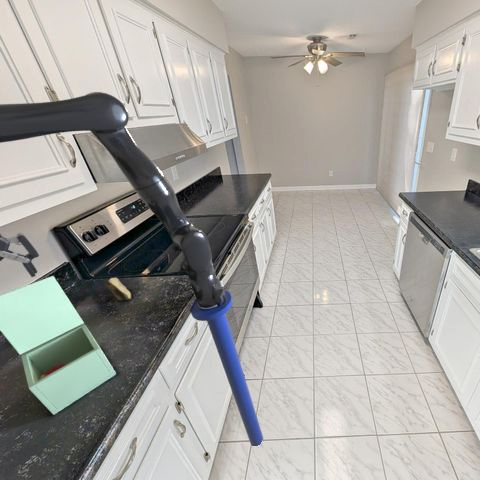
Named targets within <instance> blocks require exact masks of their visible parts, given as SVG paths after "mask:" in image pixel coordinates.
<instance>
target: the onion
mask: <svg viewBox="0 0 480 480" xmlns="http://www.w3.org/2000/svg"><path fill="white" fill-rule="evenodd" d="M65 365H67V364H60V365H57V366H55V367H53V368H51V369H49V370H48V371H47V372H46V373H45V374H44V375H43V376H41V378H40V380H41V379H42V378H44V377H46V376H48V375H50V374H51V373H53V372H55V371H57V370H58V369H60V368H62V367H64V366H65Z"/></svg>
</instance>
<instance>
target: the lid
mask: <svg viewBox="0 0 480 480" xmlns="http://www.w3.org/2000/svg"><path fill="white" fill-rule="evenodd" d="M83 324H85V322H84V321H83V319H82V318H81V316H80V314H79V312H78V311H77V310H76V309H75V307H74V304H73V303H72V302H71V300H70V299H69V297H68V295H66V293H65V291H64V290H63V289H62V287H61V285H60V284H59V283H58V280H56V277H55V276H54V275H50V276H49V277H46V278H42V279H40V280H37V281H35V282H32V283H29V284H27V285H24V286H21V287H18V288H16V289H12V290H9V291H7V292H5V293H2V294H0V332H1V333H2V335H3V336H4V337H5V338H6V340H7V341H8V342H9V344H11V346H12V347H13V348H14V349H15V351H16V352H17V353H18V354H19V355H20V356H21V355H23V354H25V353H27V352H29V351H31V350H33V349H35V348H37V347H39V346H41V345H43V344H45V343H47V342H49V341H51V340H53V339H55V338H57V337H59V336H61V335H63V334H65V333H67V332H69V331H71V330H73V329H75V328H77V327H79V326H81V325H83Z"/></svg>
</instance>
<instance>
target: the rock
mask: <svg viewBox="0 0 480 480" xmlns="http://www.w3.org/2000/svg"><path fill="white" fill-rule="evenodd" d="M104 285H105V286H106V287H107V289H109V291H110V292H111V293H112V294H113V295H114V296H115V297H116V299H117V300H118V301H127V300H131V299H132V293H131V292H130V291H129V290H128V289H127V287H126V286H125V285H124V284H123V283H122V282H121V281H120V279H118V277H117V276H116V277H110V278H109V279H108V280H107V281H106V282H105V283H104Z"/></svg>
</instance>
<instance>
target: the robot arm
mask: <svg viewBox="0 0 480 480" xmlns="http://www.w3.org/2000/svg"><path fill="white" fill-rule="evenodd" d="M129 120H130V115H129V112H128V109H127V107H126V106H125V104H124V103H123V102H122V101H121V100H120V99H119V98H117V97H115V96H113V95H111V94H109V93H107V92H102V91H93V92H89V93H86V94H85V95H80V96H76V97H71V98H67V99H61V100H54V101H43V102H27V103H23V102H22V103H0V144H1V143H8V142H9V143H10V142H15V141H21V140H27V139H33V138H38V137H43V136H48V135H54V134H62V133H71V132H90V133H91V134H92V135H93V136H94V137H95V138H96V139H97V140H98V142H99V143H100V144H101V145H102V146H103V147H104V149H106V151H107V152H108V153H109V155H110V156H111V158H113V161H114V162H115V163H116V165H117V166H118V168H119V169H120V171H121V172H122V174H123V175H124V177H125V179H126V180H127V181H128V182H129V184H130V186H131V187H132V189H133V190H134V191H135V193H136V194H137V196H138V197H139V198H140V199H141V200H142V202H143V203H144V204H145V206H146V207H148V209H149V210H150V211H151V212H152V213H153V214H154V215H155V216H156V217H157V219H158V220H159V221H160V222H161V223H162V225H163V227H164V228H165V230H166V231H167V234H168V235H169V237H170V239H171V241H172V242H173V245H175V247H177V249H179V250H180V251H181V254H182V257H183V258H184V264H183V265H184V269H185V271H186V274H187V278H188V281H189V284H190V285H191V288H192V291H193V294H194V296H195V299H197V302H198V306H199V308H200V309H202V310H211V309H214V308H216V307H218V306H221V304H223V305H224V304H225V303H226V301H227V298H226V297H225V291H226V290H225V288H223V287H222V284H221V280H220V278H219V277H217V275H216V271H215V268H214V264H213V261H212V260H213V255H212V250H211V246H210V242H209V239H208V236H207V235H206V233H205V232H203V230H201V229H199V228H197V227H196V226H194V225H193V224H192V222H191V221H190V220H189V219H188V218H187V216H186V215H185V214H184V212H183V211H182V209H181V206H180V204H179V201H178V198H177V195H176V193H175V190H174V188H173V186H172V185H171V183H170V182H169V180H168V178H167V177H166V175H165V173H164V172H163V171H162V170H161V169H160V167H159V166H158V165H157V164H156V163H155V161H154V160H152V159H151V158H150V157H149V156H148V155H147V154H146V153H145V152H144V151H143V150H142V149H141V148H140V147H139V145H138V144H137V143H136V142H135V140H134V138H133V137H132V135H131V134H130V132H129V130H128V128H127V125H128V123H129ZM12 243H13V244H15V245H17V246H21V245H22V246H23V247H24V249H25V250H26V251H27V252H28V253H27V254H22V253H19V252H17V251H14V250H11V249H10V245H11V244H12ZM39 256H40V254H39V253H38V251H37V250H36V248H35V247H34V245H33V244H32V243H31V242H30V240H29V239H28V237H27V236H26V235H25V234H24V233H22V232H21V233H19V232H18V233H17V234H16V235H14V236H10V237H8V238H7V237H4V236H3V235H2V234H1V233H0V262H2V260H4V259H7V260H10V261H16V262H20V263H22V266H23V267H24V268H25V270H26V271H27V273H28V275H29V276H30V277H31V278H35V277H36V274H38V269H37V268H36V266H35V264H33V262H32V261H33V260H34V259H37V258H39ZM224 290H225V291H224ZM223 299H225V300H224V302H223V303H222V301H223Z"/></svg>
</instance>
